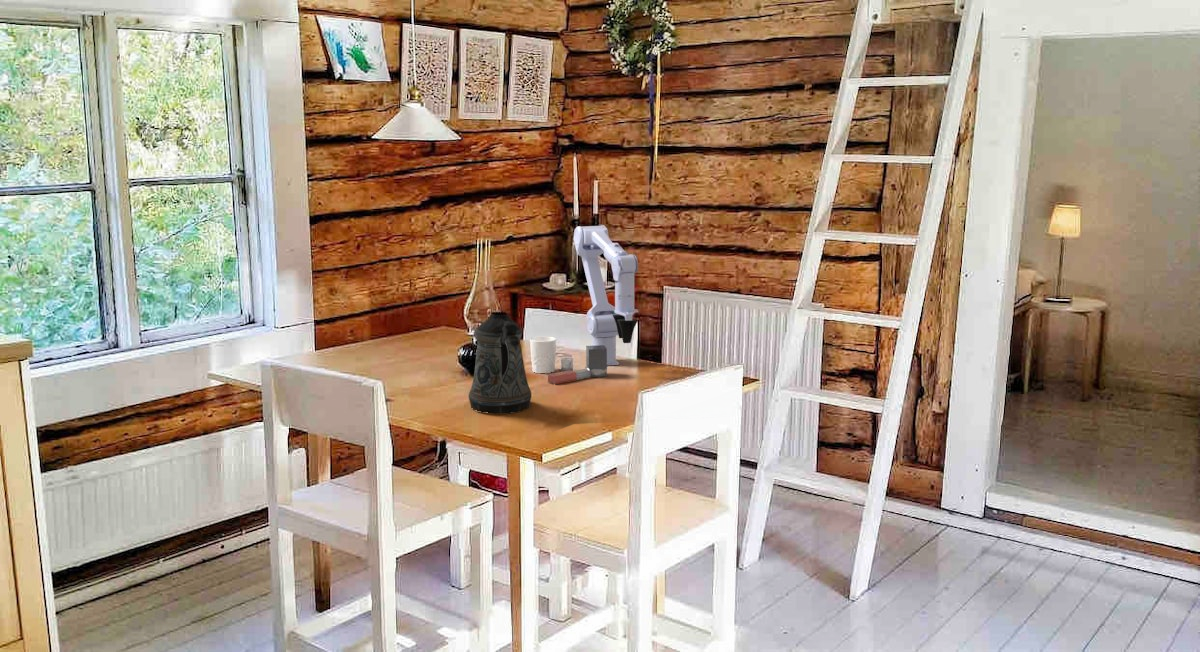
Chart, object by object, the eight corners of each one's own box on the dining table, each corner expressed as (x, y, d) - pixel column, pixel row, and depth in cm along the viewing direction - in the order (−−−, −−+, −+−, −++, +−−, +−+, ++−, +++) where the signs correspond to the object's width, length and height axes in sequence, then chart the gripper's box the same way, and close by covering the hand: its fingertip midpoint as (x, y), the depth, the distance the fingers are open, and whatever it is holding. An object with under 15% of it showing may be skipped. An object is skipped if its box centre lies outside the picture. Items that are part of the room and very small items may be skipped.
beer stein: (497, 395, 275) (495, 305, 270) (553, 405, 264) (551, 312, 259) (455, 408, 262) (452, 314, 257) (512, 419, 251) (510, 321, 246)
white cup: (552, 374, 299) (552, 342, 297) (527, 373, 301) (526, 341, 299) (559, 369, 307) (558, 337, 305) (534, 368, 308) (533, 336, 306)
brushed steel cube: (586, 365, 300) (586, 345, 299) (604, 364, 301) (604, 345, 300) (588, 369, 295) (588, 349, 293) (606, 368, 295) (606, 348, 294)
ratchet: (597, 371, 302) (597, 354, 301) (611, 375, 298) (611, 357, 297) (544, 381, 290) (544, 363, 289) (557, 385, 285) (557, 366, 284)
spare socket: (560, 370, 304) (560, 358, 303) (572, 370, 305) (572, 357, 304) (561, 373, 301) (561, 360, 300) (573, 373, 301) (573, 360, 300)
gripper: (642, 298, 291) (642, 344, 293) (633, 291, 305) (633, 335, 307) (618, 299, 290) (618, 345, 292) (610, 292, 304) (610, 336, 306)
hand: (624, 340), depth 299 cm, fingers open, 7 cm apart
